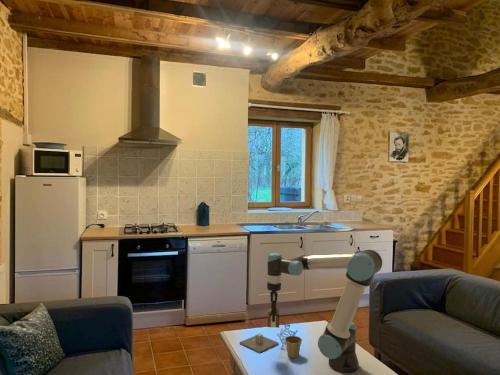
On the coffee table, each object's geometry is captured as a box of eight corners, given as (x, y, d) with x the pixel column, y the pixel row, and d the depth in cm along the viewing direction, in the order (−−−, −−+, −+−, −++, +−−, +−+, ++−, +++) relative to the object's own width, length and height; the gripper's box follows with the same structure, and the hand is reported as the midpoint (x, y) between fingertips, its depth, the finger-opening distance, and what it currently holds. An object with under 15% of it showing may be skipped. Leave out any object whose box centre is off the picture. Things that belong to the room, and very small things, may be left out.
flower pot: (301, 360, 195) (301, 344, 195) (283, 358, 197) (283, 342, 197) (302, 352, 204) (302, 336, 204) (285, 350, 206) (285, 335, 206)
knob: (278, 323, 202) (279, 308, 202) (279, 327, 196) (279, 312, 195) (267, 322, 202) (267, 307, 202) (267, 327, 196) (267, 311, 196)
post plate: (278, 344, 213) (278, 335, 213) (259, 353, 202) (259, 343, 202) (258, 335, 224) (258, 327, 224) (239, 343, 213) (239, 334, 213)
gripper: (267, 277, 208) (266, 317, 209) (266, 287, 189) (266, 331, 190) (280, 277, 208) (279, 318, 208) (281, 287, 189) (280, 332, 189)
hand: (273, 324), depth 199 cm, fingers closed on knob, 6 cm apart
